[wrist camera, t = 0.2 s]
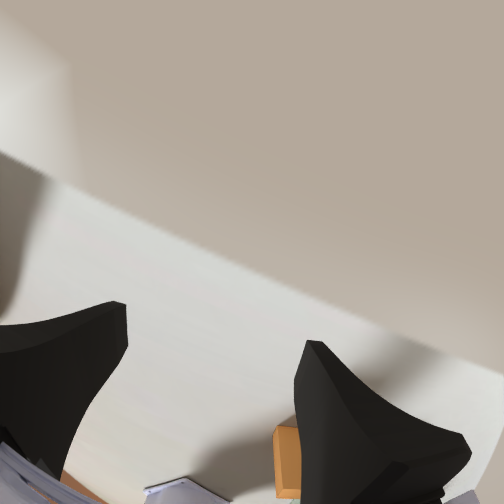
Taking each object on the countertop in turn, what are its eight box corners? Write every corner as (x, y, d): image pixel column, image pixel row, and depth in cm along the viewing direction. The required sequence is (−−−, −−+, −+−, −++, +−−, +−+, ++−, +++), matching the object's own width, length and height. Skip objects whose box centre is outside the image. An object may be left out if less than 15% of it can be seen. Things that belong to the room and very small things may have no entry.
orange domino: (319, 440, 22) (335, 498, 14) (272, 436, 22) (276, 498, 14) (325, 430, 22) (343, 488, 14) (277, 425, 22) (282, 488, 14)
